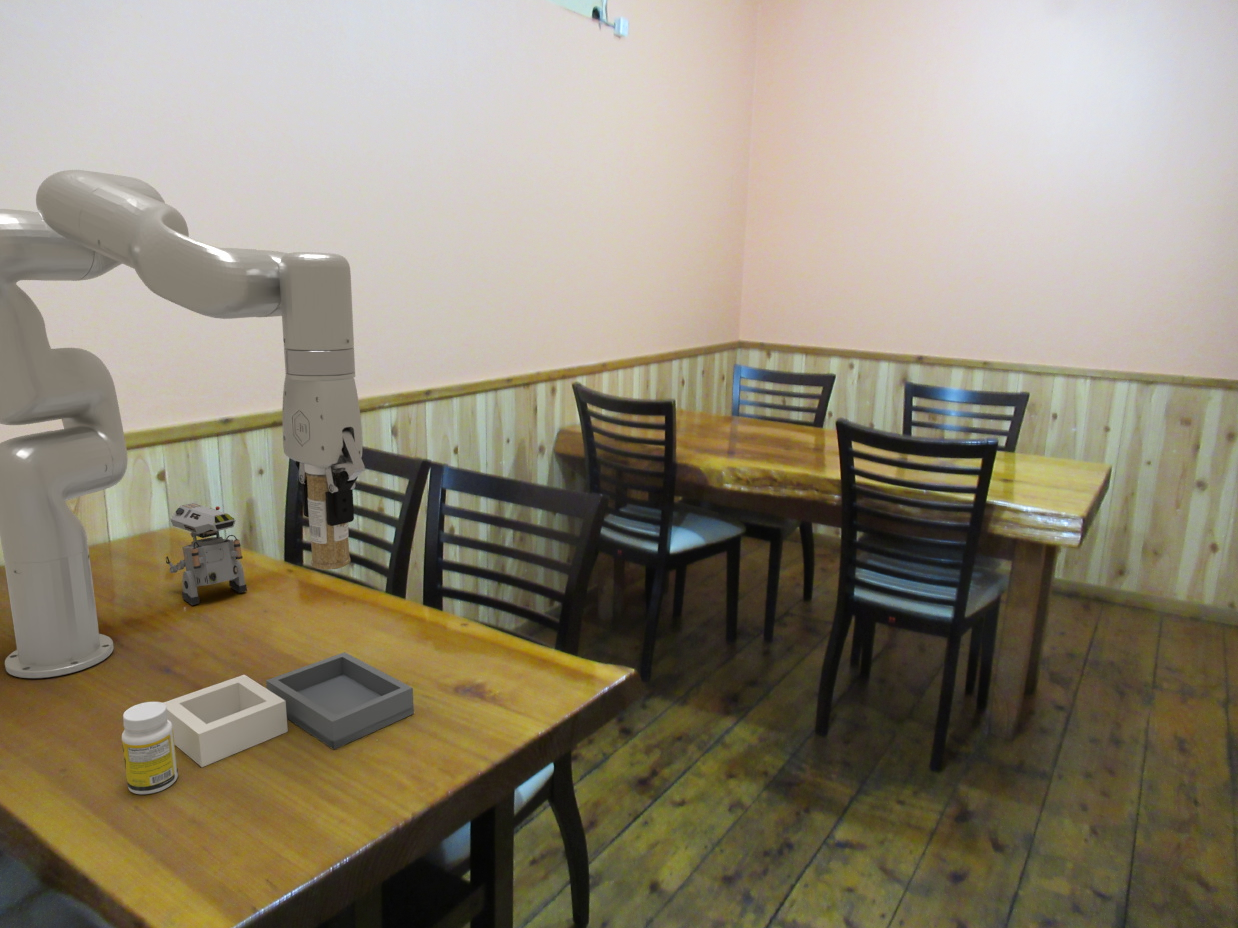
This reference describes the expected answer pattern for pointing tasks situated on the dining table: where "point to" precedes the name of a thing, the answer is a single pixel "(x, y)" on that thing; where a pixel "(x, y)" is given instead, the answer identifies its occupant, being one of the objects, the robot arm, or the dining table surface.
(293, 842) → the dining table surface
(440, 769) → the dining table surface
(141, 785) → the supplement bottle
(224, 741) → the frame
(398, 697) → the charcoal tray
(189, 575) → the figurine
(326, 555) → the sprinkles bottle
